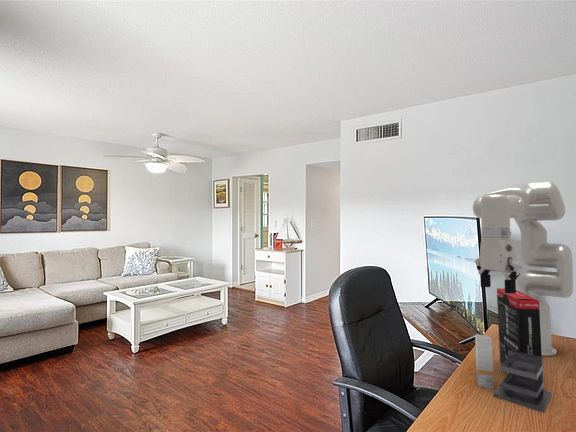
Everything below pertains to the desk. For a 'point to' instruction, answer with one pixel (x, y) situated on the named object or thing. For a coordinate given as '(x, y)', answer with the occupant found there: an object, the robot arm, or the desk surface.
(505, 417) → the desk surface
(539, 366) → the collar stand
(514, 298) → the graphics card box
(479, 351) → the silver square metal bar
